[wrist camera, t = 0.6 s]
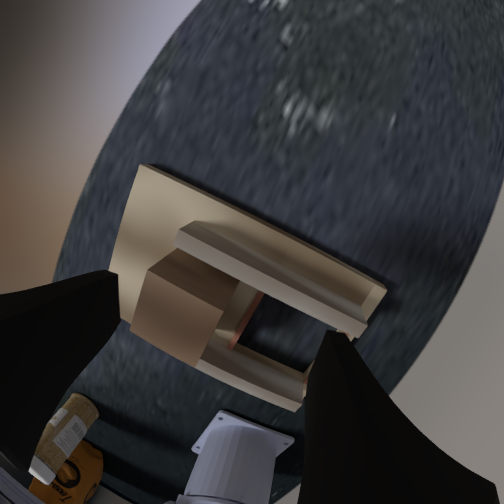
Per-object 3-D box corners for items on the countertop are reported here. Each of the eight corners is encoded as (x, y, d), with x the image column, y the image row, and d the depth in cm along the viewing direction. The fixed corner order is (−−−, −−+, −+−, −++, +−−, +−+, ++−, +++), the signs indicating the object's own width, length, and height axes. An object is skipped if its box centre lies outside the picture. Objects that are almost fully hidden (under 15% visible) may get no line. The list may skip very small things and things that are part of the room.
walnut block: (215, 328, 20) (194, 367, 16) (160, 298, 20) (129, 330, 16) (241, 277, 19) (223, 311, 14) (180, 245, 19) (147, 269, 14)
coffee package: (114, 458, 33) (56, 553, 12) (105, 474, 37) (59, 550, 16) (64, 421, 33) (-4, 507, 12) (63, 444, 37) (11, 514, 16)
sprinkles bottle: (70, 386, 28) (10, 452, 16) (97, 401, 28) (40, 476, 15) (76, 407, 30) (25, 470, 17) (103, 422, 29) (53, 491, 17)
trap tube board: (296, 397, 22) (294, 428, 19) (108, 299, 22) (84, 318, 19) (383, 284, 18) (397, 308, 15) (147, 164, 18) (118, 165, 15)
